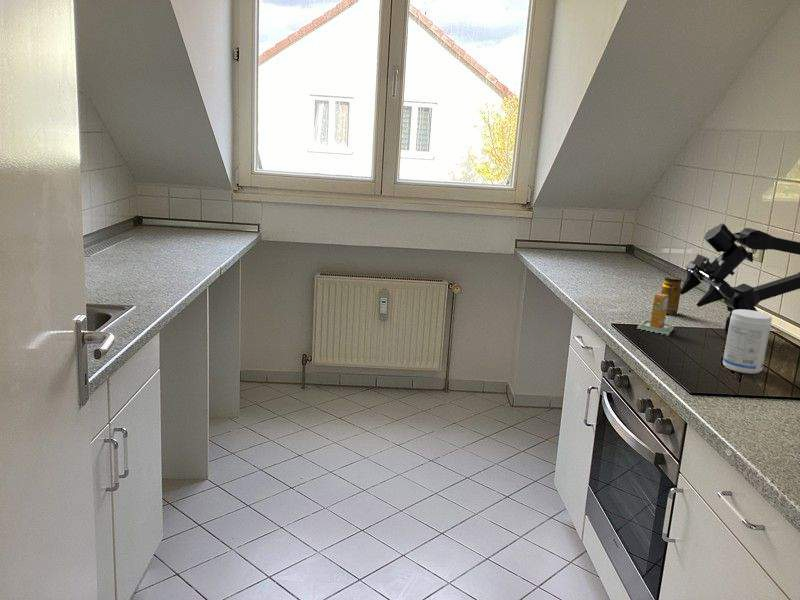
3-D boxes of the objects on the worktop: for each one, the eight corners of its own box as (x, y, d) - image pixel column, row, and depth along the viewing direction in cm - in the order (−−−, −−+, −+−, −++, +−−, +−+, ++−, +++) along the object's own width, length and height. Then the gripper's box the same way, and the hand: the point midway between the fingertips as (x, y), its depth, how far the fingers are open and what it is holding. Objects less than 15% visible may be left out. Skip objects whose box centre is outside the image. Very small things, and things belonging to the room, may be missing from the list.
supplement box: (648, 325, 227) (653, 293, 225) (654, 324, 229) (659, 292, 227) (658, 328, 224) (664, 296, 222) (664, 327, 227) (669, 295, 225)
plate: (672, 329, 229) (673, 324, 229) (668, 335, 221) (669, 330, 221) (642, 323, 233) (643, 319, 233) (637, 329, 225) (637, 324, 225)
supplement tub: (736, 361, 200) (746, 307, 197) (769, 372, 192) (780, 317, 189) (713, 364, 195) (724, 310, 191) (746, 376, 187) (758, 319, 184)
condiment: (653, 309, 255) (659, 275, 252) (677, 311, 256) (683, 276, 253) (662, 315, 248) (668, 279, 245) (687, 316, 249) (693, 281, 246)
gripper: (695, 235, 230) (658, 272, 232) (732, 257, 213) (691, 296, 216) (714, 257, 234) (677, 293, 237) (752, 279, 218) (712, 318, 220)
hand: (688, 299), depth 227 cm, fingers open, 9 cm apart
